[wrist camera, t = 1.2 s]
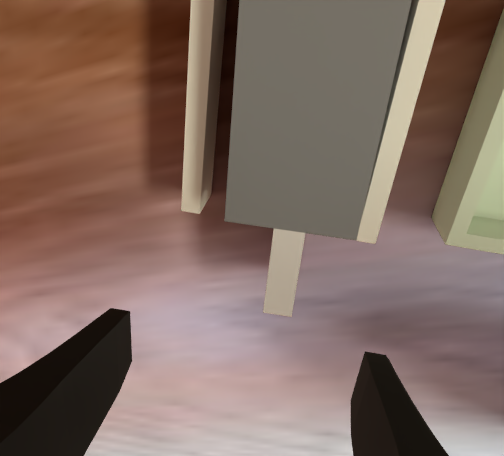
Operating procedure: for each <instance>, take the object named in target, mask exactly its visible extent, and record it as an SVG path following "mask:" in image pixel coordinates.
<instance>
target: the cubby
mask: <svg viewBox="0 0 504 456" xmlns="http://www.w3.org/2000/svg"><path fill="white" fill-rule="evenodd" d="M444 4H445V0H412V1H411V6H410V10H409V14H408V19H407V23H406V27H405V32H404V36H403V40H402V45H401V49H400V53H399V58H398V62H397V66H396V71H395V75H394V79H393V84H392V88H391V92H390V97H389V101H388V105H387V110H386V114H385V118H384V123H383V127H382V131H381V136H380V140H379V144H378V149H377V153H376V157H375V162H374V166H373V170H372V175H371V179H370V184H369V188H368V192H367V197H366V201H365V205H364V210H363V214H362V218H361V223H360V227H359V231H358V236H357V240H356V241H360V242H366V243H372V244H375V243H376V240H377V236H378V233H379V229H380V226H381V223H382V219H383V216H384V212H385V209H386V205H387V202H388V198H389V195H390V191H391V188H392V184H393V181H394V177H395V174H396V170H397V167H398V163H399V160H400V157H401V153H402V150H403V146H404V143H405V139H406V136H407V132H408V129H409V125H410V122H411V118H412V115H413V111H414V108H415V104H416V101H417V97H418V94H419V91H420V87H421V84H422V80H423V77H424V73H425V70H426V66H427V63H428V59H429V56H430V52H431V49H432V45H433V42H434V38H435V35H436V31H437V28H438V25H439V21H440V18H441V14H442V11H443V7H444ZM226 5H227V0H191V10H190V32H189V53H188V75H187V96H186V118H185V140H184V161H183V183H182V204H181V211H185V212H191V213H197V214H200V212H201V211H202V209H203V207H204V206H205V204H206V202H207V201H208V199H209V197H210V196H211V192H212V179H213V167H214V154H215V142H216V130H217V117H218V105H219V92H220V80H221V67H222V55H223V43H224V30H225V18H226Z"/></svg>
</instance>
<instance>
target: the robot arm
mask: <svg viewBox="0 0 504 456" xmlns="http://www.w3.org/2000/svg"><path fill="white" fill-rule="evenodd" d="M131 362H132V350H131V325H130V311H125V310H119V309H113V308H111V309H109V310H108V311H106V312H105V313H104V314H102V315H101V316H100V317H98V318H97V319H96V320H94V321H93V322H92V323H90V324H89V325H88V326H86V327H85V328H83V329H82V330H81V331H79V332H78V333H77V334H75V335H74V336H73V337H71V338H70V339H68V340H67V341H66V342H64V343H63V344H61V345H60V346H59V347H57V348H56V349H54V350H53V351H52V352H50V353H49V354H47V355H46V356H44V357H42V358H41V359H39V360H38V361H36V362H35V363H33V364H32V365H30V366H29V367H27V368H26V369H24V370H22V371H21V372H19V373H17V374H16V375H14V376H12V377H11V378H9V379H7V380H5V381H3V382H2V383H0V456H84V454H85V452H86V451H87V449H88V447H89V445H90V443H91V442H92V440H93V438H94V436H95V435H96V433H97V431H98V429H99V427H100V426H101V424H102V422H103V420H104V419H105V417H106V415H107V413H108V411H109V410H110V408H111V406H112V404H113V402H114V401H115V399H116V397H117V395H118V393H119V391H120V389H121V387H122V384H123V382H124V380H125V377H126V375H127V372H128V370H129V367H130V364H131ZM351 438H352V447H353V455H354V456H449V455H448V454H447V453H446V451H445V450H444V449H443V447H442V446H441V444H440V443H439V441H438V440H437V439H436V437H435V436H434V434H433V433H432V431H431V430H430V428H429V427H428V425H427V424H426V422H425V421H424V419H423V418H422V416H421V414H420V413H419V411H418V410H417V408H416V406H415V405H414V403H413V402H412V400H411V398H410V397H409V395H408V393H407V391H406V390H405V388H404V386H403V384H402V383H401V381H400V379H399V377H398V376H397V374H396V372H395V370H394V368H393V366H392V364H391V363H390V361H389V359H388V358H387V356H386V355H382V354H376V353H370V352H365V353H364V357H363V360H362V363H361V367H360V370H359V374H358V377H357V381H356V384H355V387H354V391H353V394H352V398H351Z"/></svg>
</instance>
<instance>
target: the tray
mask: <svg viewBox="0 0 504 456" xmlns="http://www.w3.org/2000/svg"><path fill="white" fill-rule="evenodd" d="M431 218H432V220H433V222H434V224H435V226H436V228H437V230H438V231H439V233H440V235H441V237H442V239H443V241H444V243H445V245H451V246H457V247H463V248H469V249H474V250H480V251H486V252H492V253H498V254H504V8H503V11H502V14H501V17H500V20H499V23H498V26H497V29H496V32H495V34H494V37H493V40H492V43H491V46H490V49H489V52H488V55H487V58H486V60H485V63H484V66H483V69H482V72H481V75H480V78H479V81H478V84H477V87H476V89H475V92H474V95H473V98H472V101H471V104H470V107H469V110H468V113H467V115H466V118H465V121H464V124H463V127H462V130H461V133H460V136H459V139H458V142H457V144H456V147H455V150H454V153H453V156H452V159H451V162H450V165H449V168H448V170H447V173H446V176H445V179H444V182H443V185H442V188H441V191H440V194H439V196H438V199H437V202H436V205H435V208H434V211H433V214H432V217H431Z"/></svg>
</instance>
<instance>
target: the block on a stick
mask: <svg viewBox="0 0 504 456" xmlns="http://www.w3.org/2000/svg"><path fill="white" fill-rule="evenodd" d="M411 1H412V0H239V15H238V29H237V44H236V59H235V73H234V88H233V103H232V117H231V132H230V147H229V162H228V176H227V191H226V206H225V220H224V221H226V222H233V223H240V224H247V225H254V226H261V227H267V228H274V231H273V238H272V246H271V254H270V262H269V270H268V277H267V285H266V293H265V301H264V309H263V313H269V314H276V315H282V316H288V317H291V316H292V310H293V304H294V298H295V292H296V286H297V281H298V275H299V269H300V263H301V257H302V251H303V245H304V239H305V233H309V234H315V235H322V236H329V237H336V238H343V239H350V240H357V236H358V231H359V227H360V223H361V218H362V214H363V210H364V205H365V201H366V197H367V192H368V188H369V184H370V179H371V175H372V170H373V166H374V162H375V157H376V153H377V149H378V144H379V140H380V136H381V131H382V127H383V123H384V118H385V114H386V110H387V105H388V101H389V97H390V92H391V88H392V84H393V79H394V75H395V71H396V66H397V62H398V58H399V53H400V49H401V45H402V40H403V36H404V32H405V27H406V23H407V19H408V14H409V10H410V6H411Z"/></svg>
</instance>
